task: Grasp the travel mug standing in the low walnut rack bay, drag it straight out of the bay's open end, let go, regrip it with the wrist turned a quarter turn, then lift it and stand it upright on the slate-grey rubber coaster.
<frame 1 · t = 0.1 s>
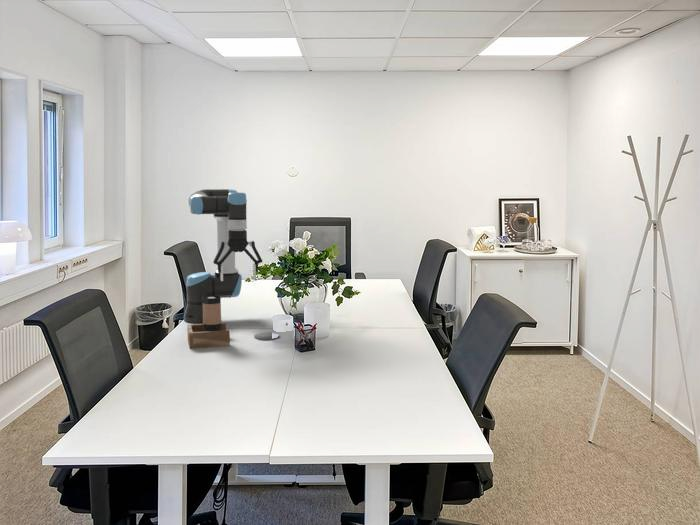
hand: (238, 280, 249), 28 cm above the table, fingers open, 13 cm apart
coaster: (266, 336, 265), on the table
travel mug: (212, 342, 256), on the table
rack bay: (208, 342, 255), on the table
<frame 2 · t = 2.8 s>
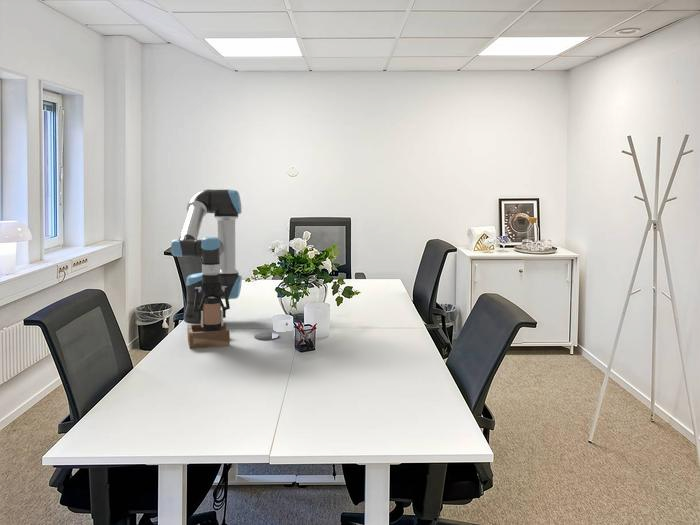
hand: (212, 325, 254), 7 cm above the table, fingers closed on travel mug, 8 cm apart
travel mug: (212, 342, 256), on the table, touching gripper
when the fingers open (7 cm above the table, at t = 7.0 s): travel mug stays where it is, on the table.
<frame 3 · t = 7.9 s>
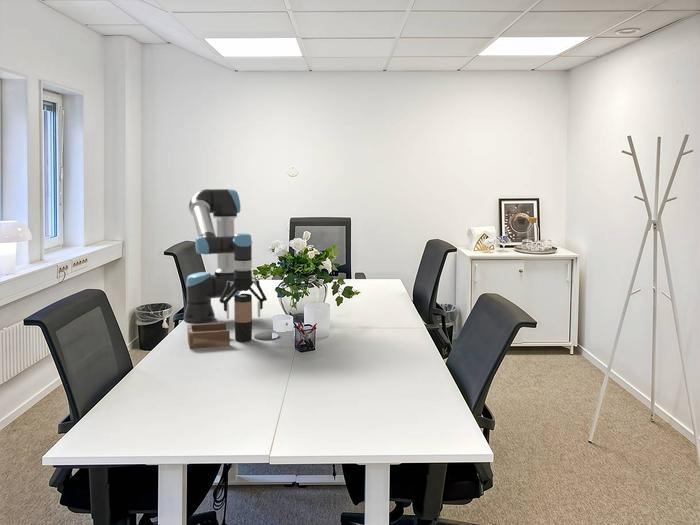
hand: (243, 317, 259), 10 cm above the table, fingers open, 13 cm apart
travel mug: (243, 340, 260), on the table
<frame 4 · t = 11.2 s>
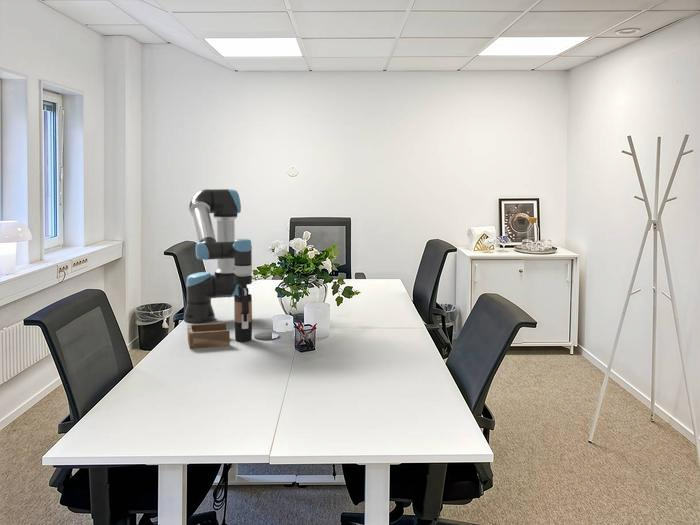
hand: (243, 326, 259), 6 cm above the table, fingers closed on travel mug, 8 cm apart
travel mug: (243, 340, 260), on the table, touching gripper
when the fingers open (8 cm above the table, at t = 16.8 s): travel mug drops 1 cm, resting on coaster.
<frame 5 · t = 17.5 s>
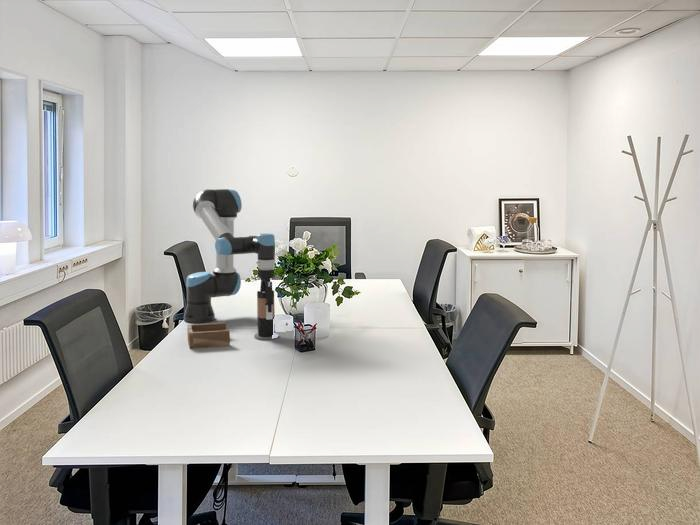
hand: (266, 315, 263), 10 cm above the table, fingers open, 13 cm apart
travel mug: (266, 335, 265), point 1 cm above the table, touching coaster
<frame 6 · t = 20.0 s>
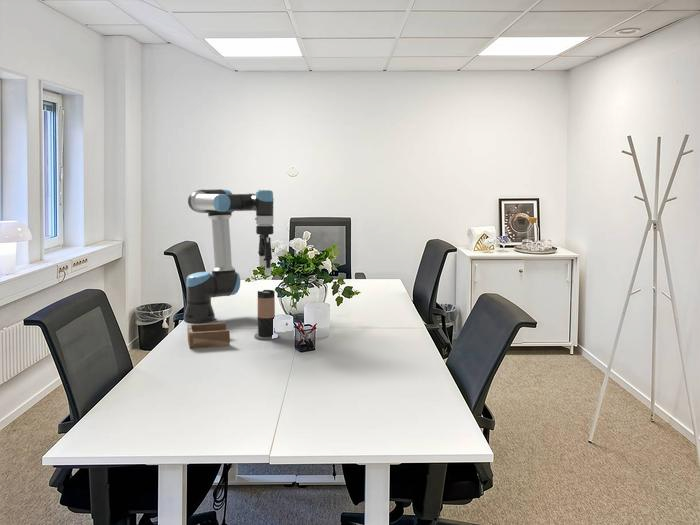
hand: (265, 272, 264), 29 cm above the table, fingers open, 13 cm apart
nothing on the table moved.
at the end: travel mug 0.2 cm from the coaster (horizontally); travel mug tilted 0°; travel mug touching coaster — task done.
